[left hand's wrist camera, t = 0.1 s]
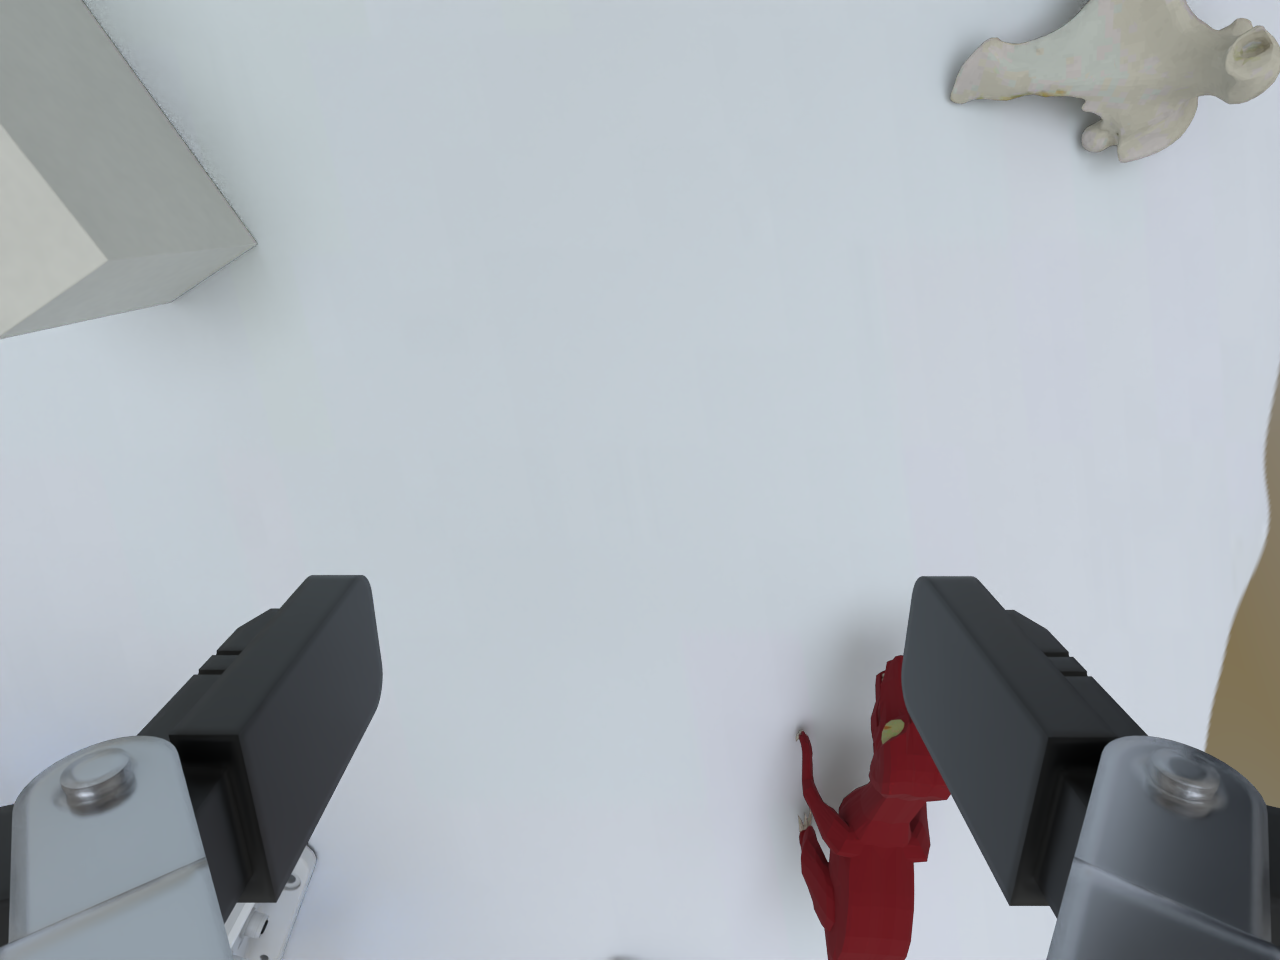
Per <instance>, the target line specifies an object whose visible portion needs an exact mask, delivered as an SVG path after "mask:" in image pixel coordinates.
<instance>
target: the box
mask: <svg viewBox="0 0 1280 960" xmlns="http://www.w3.org/2000/svg"><path fill="white" fill-rule="evenodd" d="M255 245H257V243H256V241H255V240H254V238H253V237H252V236H251V234H250V233H249V231H248V230H247V229H246V227H245V226H244V224H243V223H242V222H241V220H240V219H239V218H238V216H237V215H236V213H235V212H234V211H233V209H232V208H231V206H230V205H229V204H228V202H227V201H226V199H225V198H224V197H223V195H222V194H221V193H220V191H219V190H218V188H217V187H216V186H215V184H214V183H213V181H212V180H211V179H210V177H209V176H208V174H207V173H206V172H205V170H204V169H203V168H202V166H201V165H200V163H199V162H198V161H197V159H196V158H195V156H194V155H193V154H192V152H191V151H190V150H189V148H188V147H187V145H186V144H185V143H184V141H183V140H182V138H181V137H180V136H179V134H178V133H177V131H176V130H175V129H174V127H173V126H172V125H171V123H170V122H169V120H168V119H167V118H166V116H165V115H164V113H163V112H162V111H161V109H160V108H159V106H158V105H157V104H156V102H155V101H154V100H153V98H152V97H151V95H150V94H149V93H148V91H147V90H146V88H145V87H144V86H143V84H142V83H141V81H140V80H139V79H138V77H137V76H136V75H135V73H134V72H133V70H132V69H131V68H130V66H129V65H128V63H127V62H126V61H125V59H124V58H123V57H122V55H121V54H120V52H119V51H118V50H117V48H116V47H115V45H114V44H113V43H112V41H111V40H110V38H109V37H108V36H107V34H106V33H105V32H104V30H103V29H102V27H101V26H100V25H99V23H98V22H97V20H96V19H95V18H94V16H93V15H92V13H91V12H90V11H89V9H88V8H87V7H86V5H85V4H84V2H83V1H82V0H0V339H3V338H8V337H13V336H17V335H22V334H27V333H31V332H36V331H41V330H45V329H50V328H54V327H59V326H64V325H68V324H73V323H78V322H82V321H87V320H92V319H96V318H101V317H106V316H110V315H115V314H119V313H124V312H129V311H133V310H138V309H143V308H147V307H152V306H157V305H161V304H166V303H171V302H172V301H174V300H175V299H177V298H178V297H180V296H181V295H183V294H184V293H186V292H187V291H188V290H190V289H191V288H193V287H194V286H196V285H197V284H199V283H200V282H202V281H203V280H205V279H206V278H208V277H209V276H211V275H212V274H214V273H215V272H217V271H218V270H220V269H221V268H223V267H224V266H226V265H227V264H229V263H230V262H232V261H233V260H235V259H236V258H238V257H239V256H240V255H242V254H243V253H245V252H246V251H248V250H249V249H251V248H252V247H254V246H255Z"/></svg>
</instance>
